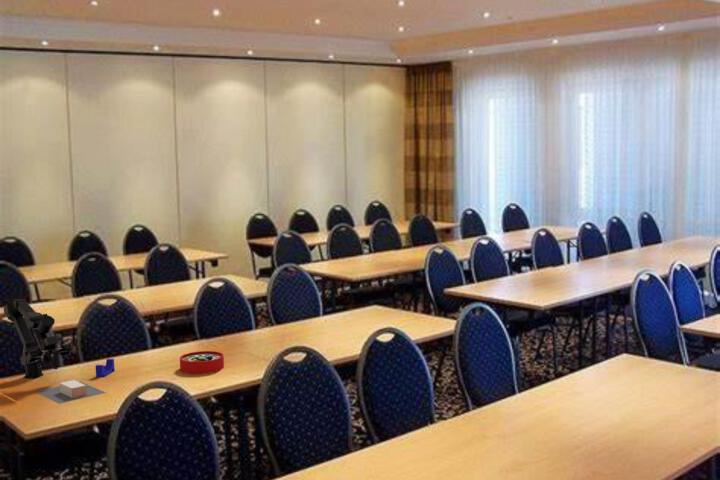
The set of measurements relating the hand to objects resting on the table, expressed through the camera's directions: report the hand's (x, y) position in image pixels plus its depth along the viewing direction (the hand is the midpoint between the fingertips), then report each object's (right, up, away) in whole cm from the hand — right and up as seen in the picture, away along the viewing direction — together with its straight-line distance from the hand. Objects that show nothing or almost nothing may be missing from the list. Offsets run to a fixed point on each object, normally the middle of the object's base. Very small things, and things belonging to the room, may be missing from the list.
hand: (56, 368), depth 350 cm
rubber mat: (+9, -9, -9) cm, 15 cm away
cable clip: (+14, -6, +20) cm, 25 cm away
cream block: (+7, -6, -7) cm, 12 cm away
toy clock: (+57, -4, +27) cm, 64 cm away
